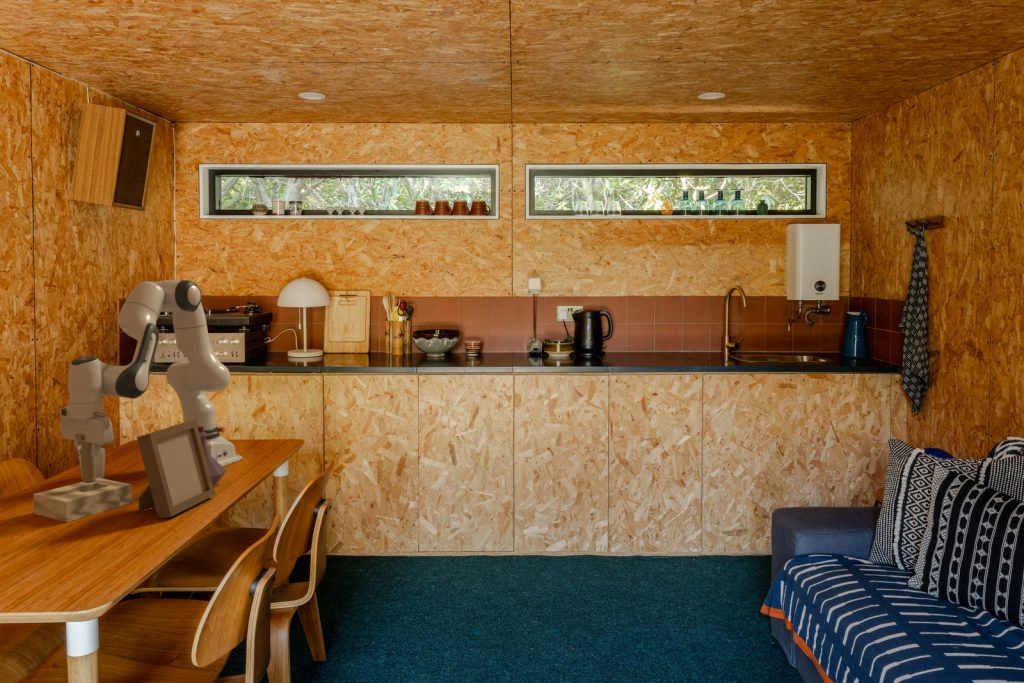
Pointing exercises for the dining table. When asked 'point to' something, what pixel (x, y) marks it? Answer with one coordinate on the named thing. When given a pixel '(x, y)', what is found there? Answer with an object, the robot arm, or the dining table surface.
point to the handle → (87, 460)
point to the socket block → (82, 499)
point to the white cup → (98, 464)
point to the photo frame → (174, 469)
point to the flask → (211, 460)
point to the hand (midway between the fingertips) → (88, 455)
